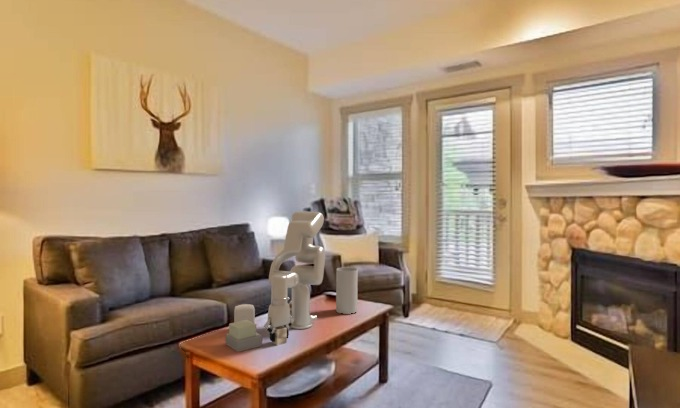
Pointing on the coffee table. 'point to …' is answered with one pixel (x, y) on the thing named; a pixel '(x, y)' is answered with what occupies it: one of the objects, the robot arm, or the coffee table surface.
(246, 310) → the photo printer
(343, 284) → the cylinder vase
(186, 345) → the coffee table surface
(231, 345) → the tower bottom block
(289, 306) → the decorative ornament
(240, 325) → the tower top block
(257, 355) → the coffee table surface
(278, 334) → the ash block
